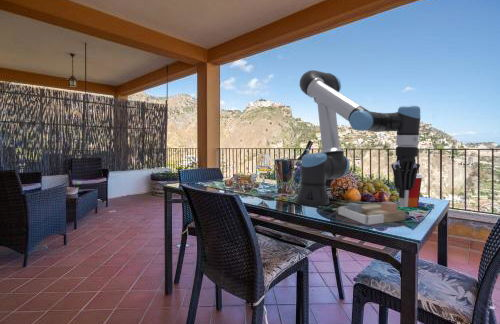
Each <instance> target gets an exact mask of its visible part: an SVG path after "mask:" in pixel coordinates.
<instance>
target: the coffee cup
mask: <svg viewBox="0 0 500 324" xmlns="http://www.w3.org/2000/svg"><path fill="white" fill-rule="evenodd" d="M422 180H423V175H422V173H418V172H417V176H416V180H415V184H414V188H411V189H412V190H409V198H408V207H409V208H418V207H419V202H420V196H421V188H422V182H423V181H422ZM408 207H407V208H408Z"/></svg>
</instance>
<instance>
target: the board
mask: <svg viewBox="0 0 500 324" xmlns="http://www.w3.org/2000/svg"><path fill="white" fill-rule="evenodd" d="M361 205H362V206H361V214H364V215H367V216H370V215H379V214H383V215H384V222H383V223H382V224H384V223H385V224H386V223H392V222H394V223H395V222H399V221H405V220H406V218H407V217H406V216H407V214H406V211H403V210H400V209H397V211H396V212H387V211H384V210H381V204H378V203H373V202H372V203H363V204H362V203H361Z"/></svg>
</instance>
